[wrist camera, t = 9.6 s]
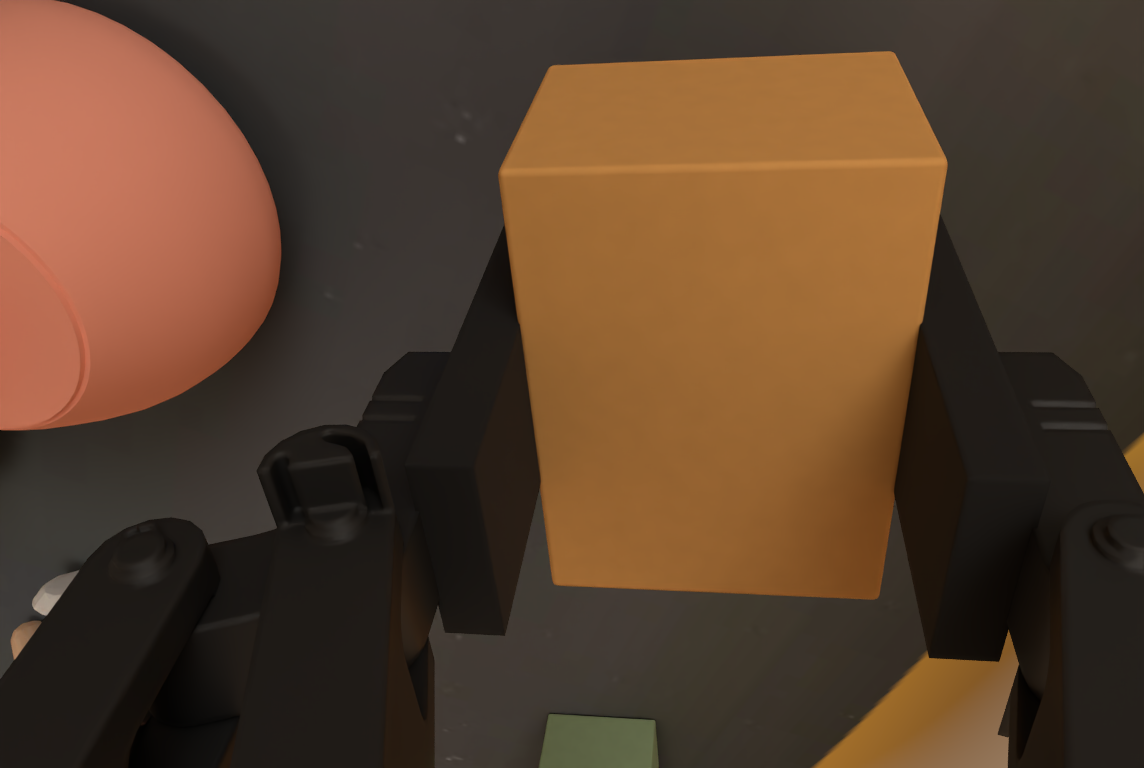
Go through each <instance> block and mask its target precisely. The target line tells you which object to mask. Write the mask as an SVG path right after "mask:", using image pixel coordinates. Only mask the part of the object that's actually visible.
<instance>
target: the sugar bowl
mask: <svg viewBox="0 0 1144 768" xmlns="http://www.w3.org/2000/svg"><path fill="white" fill-rule="evenodd" d="M280 264H281V232H280V226H279V221H278V215H277V209H276V206H275V203H274V199H273V196H272V193H271V190H270V186H269V184H268V181H267V179H266V177H265V175H264V172H263V170H262V168H261V166H260V163H259V161H258V159H257V157H256V156H255V154H254V152H253V150H252V149H251V147H250V145H249V143H248V142H247V140H246V138H245V137H244V135H243V133H242V132H241V131H240V129H239V128H238V127H237V125H236V124H235V122H234V121H233V120H232V118H231V117H230V115H229V114H228V113H227V111H226V110H225V109H224V108H223V107H222V105H221V104H220V103H219V102H218V101H217V100H216V99H215V98H214V96H213V95H212V94H211V93H210V92H209V91H208V90H207V89H206V88H205V86H204V85H203V84H202V83H201V82H199V81H198V80H197V79H196V78H195V77H194V76H193V75H192V74H191V73H190V72H189V71H188V70H186V69H185V68H184V67H183V66H182V65H181V64H180V63H179V62H178V61H176V60H175V59H174V58H172V57H171V56H170V55H168V54H167V53H166V52H164V51H163V50H162V49H160V48H159V47H158V46H156V45H155V44H154V43H152V42H151V41H149V40H147V39H146V38H144V37H142V36H141V35H139V34H137V33H136V32H134V31H132V30H131V29H129V28H127V27H126V26H124V25H122V24H120V23H118V22H116V21H113V20H111V19H109V18H107V17H105V16H103V15H100V14H98V13H96V12H93V11H90V10H87V9H84V8H81V7H78V6H75V5H72V4H69V3H65V2H60V1H55V0H0V430H37V429H49V428H57V427H64V426H71V425H77V424H84V423H90V422H96V421H101V420H106V419H110V418H114V417H118V416H122V415H126V414H130V413H133V412H137V411H141V410H144V409H147V408H149V407H152V406H154V405H156V404H159V403H161V402H164V401H166V400H168V399H170V398H173V397H175V396H177V395H179V394H181V393H183V392H185V391H186V390H188V389H190V388H191V387H193V386H195V385H196V384H198V383H199V382H201V381H202V380H204V379H205V378H207V377H208V376H210V375H211V374H213V373H214V372H216V371H217V370H218V369H220V368H221V367H222V366H224V365H225V364H226V363H227V362H229V361H230V360H231V359H232V358H233V357H234V356H235V355H236V354H237V353H238V352H239V351H240V350H241V349H242V348H243V347H244V346H245V345H246V344H247V343H248V341H249V340H250V339H251V338H252V337H253V336H254V334H255V333H256V331H257V330H258V329H259V327H260V326H261V324H262V323H263V322H264V320H265V318H266V316H267V314H268V312H269V310H270V308H271V306H272V303H273V300H274V297H275V293H276V290H277V286H278V282H279V273H280Z"/></svg>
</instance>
